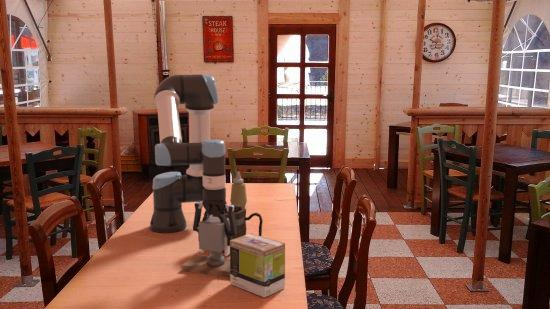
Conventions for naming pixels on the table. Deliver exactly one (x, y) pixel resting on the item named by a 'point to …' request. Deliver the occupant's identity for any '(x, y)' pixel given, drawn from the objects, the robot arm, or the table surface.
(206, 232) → the gray cube
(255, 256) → the tea box
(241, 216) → the mug
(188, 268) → the brown base with rod
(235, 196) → the squeeze bottle
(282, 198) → the table surface
